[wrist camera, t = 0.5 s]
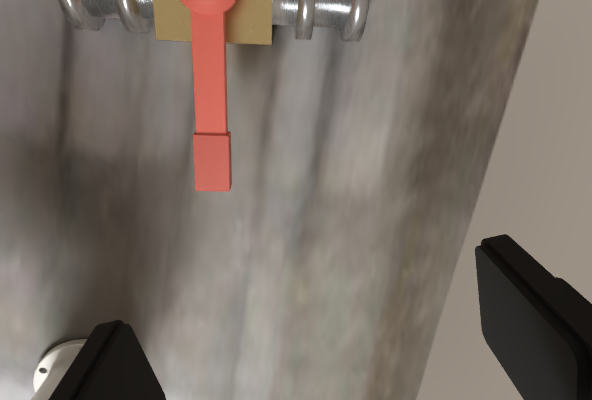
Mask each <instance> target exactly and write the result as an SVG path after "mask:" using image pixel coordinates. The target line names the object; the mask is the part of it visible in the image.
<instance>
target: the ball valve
mask: <svg viewBox="0 0 592 400" xmlns="http://www.w3.org/2000/svg"><path fill="white" fill-rule="evenodd" d="M59 2H60V5H61V8H62V10H63V12H64V14H65V16H66V18H67V20H68V21H69V22H70V24H71V25H72V26H73V27H74V28H76V29H78V30H87V31H98V30H100V29H101V28H102V27H103V25H104V22H105V18H106V17H107V18H120V19H121V21H122V23H123V25H124V27H125V28H126V29H127V30H128V31H129V32H134V33H148V32H150V30H151V28H152V25H153V20H154V21H155V34H156V40H168V41H179V42H192V33H191V12H190V9H189V8H187V7H186V6H185V5H184V4H183V3H182V2H181V1H180V0H59ZM368 7H369V0H237V1H236V3H235V5H234V6H233V7H232V8H231V9H230V10H229V11H228V12H226V13H225V24H226V43H227V44H251V45H272V25H287V26H295V39H299V40H311V37H312V31H313V27H332V28H340V34H341V39H342V41H346V42H359V41H360V39H361V37H362V35H363V32H364V28H365V24H366V19H367V13H368Z"/></svg>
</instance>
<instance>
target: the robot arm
mask: <svg viewBox="0 0 592 400" xmlns="http://www.w3.org/2000/svg"><path fill="white" fill-rule="evenodd" d="M475 256H476V268H477V279H478V290H479V303H480V315H481V326H482V332H483V335H484V338H485V340H486V342H487V344H488V345H489V347H490V349H491V350H492V352H493V353H494V355H495V356H496V358H497V359H498V361H499V362H500V364H501V365H502V367H503V368H504V370H505V372H506V373H507V375H508V376H509V378H510V379H511V381H512V382H513V384H514V385H515V387H516V388H517V390H518V391H519V393H520V394H521V396H522V397H523V399H524V400H592V304H591V303H590V302H589V301H587V300H586V299H585V298H584V297H583V296H582V295H581V294H580V293H579V292H577V291H576V290H575V289H574V288H573V287H572V286H571V285H569V284H568V283H567V282H566V281H564V280H563V279H561V278H557V277H556V278H555V277H554V276H553V275H552V274H551V273H549V272H548V271H547V270H546V269H545V268H544V267H543V266H542V265H541V264H539V263H538V262H537V261H536V260H535V259H534V258H533V257H532V256H531V255H529V254H528V253H527V252H526V251H525V250H524V249H523V248H522V247H521V246H519V245H518V244H517V243H516V242H515V241H514V240H513V239H512V238H510V237H509V236H508V235H506V234H504V235H499V236H495V237H490V238H486V239H483V240H482V242H481V245H480V246H477V247H476V248H475ZM33 387H34V391H35V395H34V396H33V398H32V399H31V400H166V398H165V394H164V392H163V390H162V388H161V386H160V384H159V382H158V380H157V378H156V376H155V374H154V372H153V370H152V368H151V366H150V364H149V362H148V360H147V358H146V356H145V354H144V352H143V350H142V348H141V346H140V344H139V342H138V340H137V338H136V336H135V334H134V331H133V329H132V328H131V326H130V325H129V324H124V322H123V321H121V320H116V321H111V322H107V323H102V324H99V325H97V326H96V327H95V328H94V330H93V331H92V333H91V335H90V336H89V338H88V339H79V340H72V341H68V342H65V343H62V344H60V345H58V346H56V347H54V348H53V349H51V350H50V351H49V352H48V353H47V354H46V355H45V356H44V357H43V358H42V360H41V361H40V362H39V364H38V365H37V367H36V369H35V372H34V376H33Z"/></svg>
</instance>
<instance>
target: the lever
mask: <svg viewBox="0 0 592 400" xmlns="http://www.w3.org/2000/svg"><path fill="white" fill-rule="evenodd" d="M180 1H181V2H182V3H183V4H184V5H185V6H186V7H187V8H189V9H190V12H191V33H192V54H193V76H194V97H195V118H196V132H195V133H194V134H193V150H194V170H195V190H196V191H230V188H231V185H232V175H231V132H228V124H227V74H226V24H225V13H226V12H228V11H229V10H230V9H231V8H232V7H233V6H234V5H235V3H236V1H237V0H180Z"/></svg>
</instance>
